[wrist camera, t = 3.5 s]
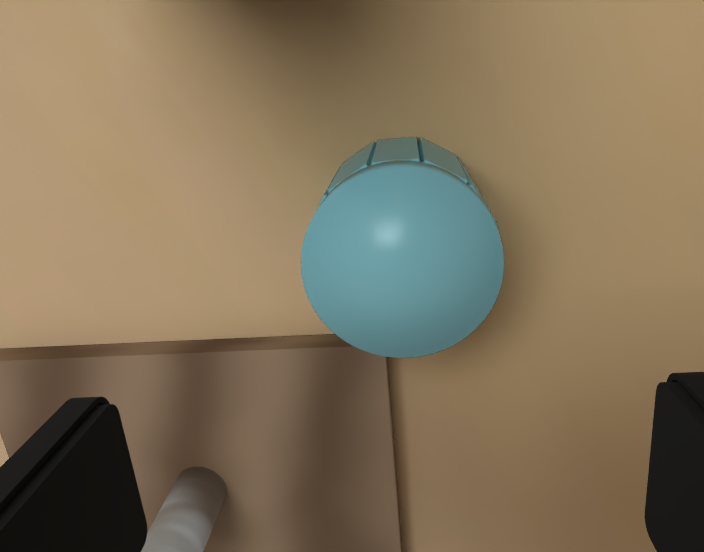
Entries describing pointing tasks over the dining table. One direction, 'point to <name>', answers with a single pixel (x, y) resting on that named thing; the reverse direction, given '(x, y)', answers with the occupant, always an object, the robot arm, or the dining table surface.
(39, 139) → the dining table surface
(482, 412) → the dining table surface
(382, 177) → the cap
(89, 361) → the post board
